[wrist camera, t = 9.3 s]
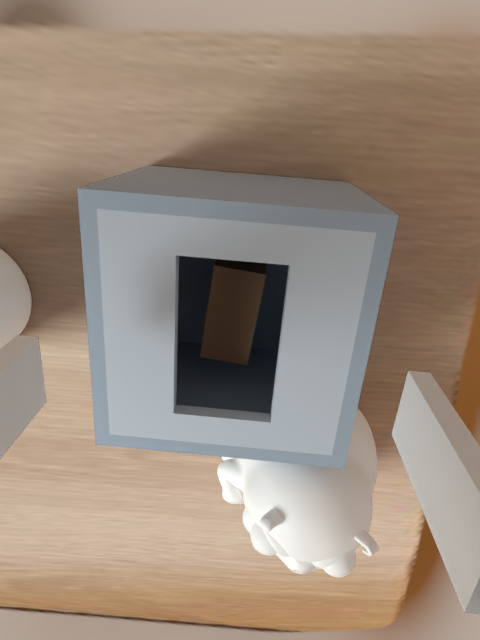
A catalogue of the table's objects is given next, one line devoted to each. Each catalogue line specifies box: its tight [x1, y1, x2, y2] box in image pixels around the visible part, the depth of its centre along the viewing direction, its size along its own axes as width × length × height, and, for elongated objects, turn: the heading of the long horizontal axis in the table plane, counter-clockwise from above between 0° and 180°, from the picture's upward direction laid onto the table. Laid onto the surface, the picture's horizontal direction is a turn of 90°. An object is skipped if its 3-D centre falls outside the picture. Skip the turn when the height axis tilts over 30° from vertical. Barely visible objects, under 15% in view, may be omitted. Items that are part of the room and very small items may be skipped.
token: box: [200, 259, 266, 365], centre depth 25 cm, size 2×5×7 cm, turn 170°
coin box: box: [77, 165, 399, 468], centre depth 24 cm, size 12×12×11 cm
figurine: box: [218, 408, 379, 578], centre depth 28 cm, size 10×10×12 cm
